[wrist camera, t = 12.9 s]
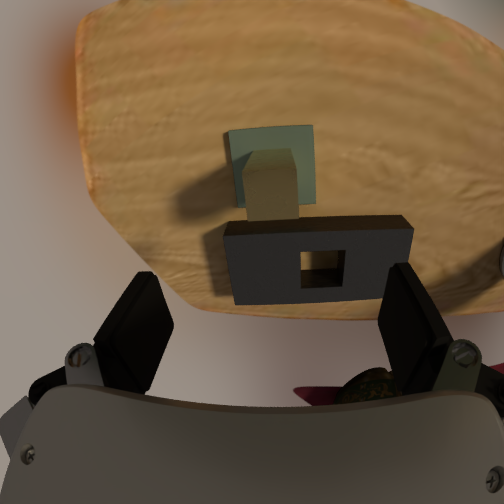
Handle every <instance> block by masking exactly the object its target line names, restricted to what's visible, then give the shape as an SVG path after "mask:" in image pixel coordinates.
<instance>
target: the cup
mask: <svg viewBox="0 0 504 504" xmlns="http://www.w3.org/2000/svg"><path fill="white" fill-rule="evenodd" d="M400 396H402V393H401V391H400V392H399V391H398V390H397V388H396V384H395V380H394V376H393V373H392V371H390V372H388V371H387V370H386V369H385V368H381V367H378V368H372V369H368V370H366V371H364V372H362V373H360V374H358V375H357V376H355V377H354V378H352V379H351V380H350V381H348V382H347V383H346V384H345V385H344V386H343V387H342V388H341V389H340V390H339V392H338V393H337V395H336V399H335V401H334V403H333V405H338V404H348V403H357V402H365V401H373V400H380V399H387V398H394V397H400Z"/></svg>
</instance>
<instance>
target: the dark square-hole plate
mask: <svg viewBox="0 0 504 504" xmlns="http://www.w3.org/2000/svg"><path fill="white" fill-rule="evenodd" d="M413 233H414V228H413V227H412V226H411V225H410V224H409V222H408V221H407V220H406V219H405V218H404V217H403V216H402V215H364V216H327V217H300V218H299V219H283V220H265V221H248V220H241V221H229V222H228V225H227V227H226V230H225V232H224V235H223V240H224V246H225V251H226V257H227V263H228V269H229V274H230V280H231V286H232V291H233V296H234V302H235V305H273V304H301V303H322V302H339V301H354V300H367V299H379V298H383V295H384V291H385V287H386V282H387V277H388V272H389V268H390V267H393V265H394V264H395V263H404V262H408V259H409V254H410V249H411V244H412V238H413ZM330 250H338V263H337V268H336V269H316V270H301V257H300V252H307V251H330Z"/></svg>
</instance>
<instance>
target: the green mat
mask: <svg viewBox="0 0 504 504" xmlns="http://www.w3.org/2000/svg"><path fill="white" fill-rule="evenodd" d="M228 133H229V141H230V149H231V157H232V165H233V173H234V181H235V188H236V196H237V204H238V208H241V207H246V202H245V194H244V186H243V178H242V171H243V169H244V167H245V165H246V163H247V161H248V160H249V158H250V156H251V154H252V152H253V151H254V150H266V149H281V148H291V151H292V154H293V158H294V161H295V164H296V168H297V183H298V204H316V186H315V156H314V136H313V125H293V126H274V127H260V128H249V129H239V130H230V131H228Z"/></svg>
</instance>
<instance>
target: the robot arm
mask: <svg viewBox="0 0 504 504" xmlns="http://www.w3.org/2000/svg"><path fill="white" fill-rule="evenodd" d="M500 270H501V273H502V275H503V276H504V246H503V249H502V253H501V257H500ZM378 326H379V329H380V332H381V335H382V339H383V342H384V345H385V348H386V352H387V355H388V358H389V362H390V365H391V369H392V373H393V376H394V380H395V384H396V388H397V390H398V391H399V392H400V391H401V393H402V396H400V397H394V398H387V399H380V400H373V401H365V402H357V403H348V404H338V405H325V406H307V407H247V406H228V405H216V404H206V403H196V402H188V401H180V400H173V399H167V398H160V397H154V396H149V395H145V392H146V391H148V390H149V389H150V387H151V384H152V381H153V379H154V376H155V374H156V371H157V369H158V366H159V364H160V361H161V359H162V356H163V353H164V351H165V349H166V346H167V343H168V341H169V339H170V336H171V334H172V331H173V329H174V323H173V319H172V317H171V314H170V311H169V309H168V306H167V303H166V301H165V298H164V295H163V292H162V289H161V286H160V283H159V281H158V278H157V276H156V275H154V274H153V273H152V272H151V271H149V272H148V271H145V272H143V271H142V272H138V273H137V274H136V275H135V277H134V278H133V280H132V281H131V282H130V284H129V285H128V287H127V288H126V290H125V291H124V293H123V294H122V296H121V297H120V298H119V300H118V301H117V303H116V304H115V306H114V308H113V309H112V310H111V312H110V313H109V315H108V317H107V318H106V319H105V321H104V323H103V324H102V326H101V327H100V329H99V331H98V332H97V334H96V335H95V337H94V338H93V340H94V342H95V343H94V345H93V346H92V345H91V344H89V343H81V344H78V345H76V346H74V347H73V348H71V349H70V351H69V352H68V353H67V355H66V357H65V366H63V367H61V368H59V369H57V370H55V371H53V372H51V373H49V374H47V375H45V376H43V377H41V378H39V379H37V380H36V381H35V382H34V383H33V384H32V385H31V387H30V389H29V397H27V396H24V397H23V398H22V399H21V400H20V401H19V402H17V403H16V404H15V405H14V406H13V407H12V408H11V409H9V410H8V411H7V412H6V413H5V414H4V415H3V416H2V417H1V418H0V435H1V437H2V440H3V443H4V445H5V448H6V450H7V453H8V455H9V457H10V463H9V466H8V468H7V472H6V475H5V478H4V482H3V486H2V490H1V494H0V504H504V374H502V373H500V372H498V371H496V370H494V369H492V368H490V367H488V366H486V365H484V364H483V363H482V355H481V352H480V350H479V348H478V347H477V346H476V345H475V344H474V343H472V342H471V341H469V340H465V339H458V340H455V341H454V340H453V338H452V336H451V334H450V332H449V330H448V328H447V326H446V325H445V322H444V321H443V319H442V317H441V315H440V313H439V311H438V310H437V308H436V306H435V304H434V303H433V301H432V299H431V297H430V296H429V295H428V293H427V291H426V289H425V288H424V286H423V284H422V283H421V281H420V280H419V278H418V276H417V275H416V273H415V272H414V270H413V268H412V267H411V265H410V264H409V263H408V262H404V263H395V264H394V265H393V267H390V268H389V272H388V277H387V282H386V287H385V291H384V295H383V300H382V304H381V308H380V312H379V316H378Z"/></svg>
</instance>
